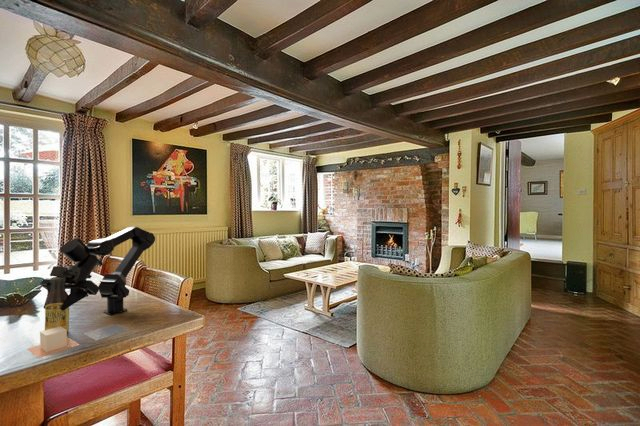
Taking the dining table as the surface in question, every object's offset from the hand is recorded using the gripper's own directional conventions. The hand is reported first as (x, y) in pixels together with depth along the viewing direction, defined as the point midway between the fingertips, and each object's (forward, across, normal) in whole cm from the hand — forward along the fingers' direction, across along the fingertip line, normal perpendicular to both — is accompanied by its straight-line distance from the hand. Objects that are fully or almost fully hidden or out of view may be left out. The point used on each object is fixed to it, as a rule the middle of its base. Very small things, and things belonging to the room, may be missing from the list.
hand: (53, 309), depth 102 cm
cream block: (+11, +7, +2) cm, 13 cm away
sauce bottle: (+6, 0, +8) cm, 10 cm away
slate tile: (+3, +14, +11) cm, 18 cm away
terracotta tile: (+11, +7, +2) cm, 14 cm away
